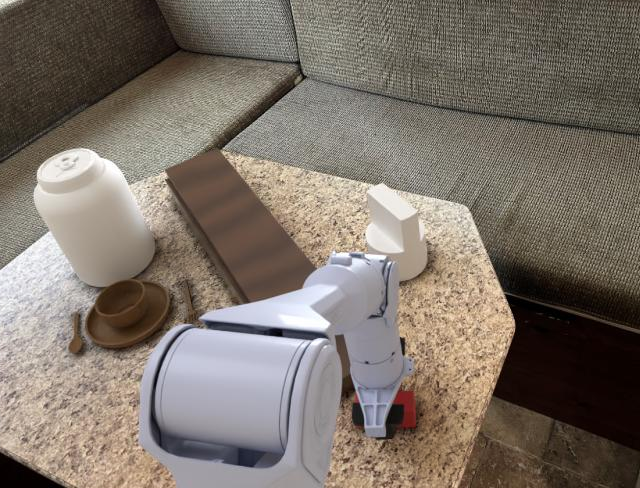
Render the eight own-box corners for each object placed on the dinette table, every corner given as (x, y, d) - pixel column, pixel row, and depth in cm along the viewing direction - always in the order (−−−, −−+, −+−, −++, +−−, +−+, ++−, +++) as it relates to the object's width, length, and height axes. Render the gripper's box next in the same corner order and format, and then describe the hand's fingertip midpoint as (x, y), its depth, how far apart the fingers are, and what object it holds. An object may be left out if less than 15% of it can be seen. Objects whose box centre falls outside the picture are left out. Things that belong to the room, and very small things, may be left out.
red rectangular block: (357, 429, 73) (353, 413, 71) (359, 407, 75) (355, 391, 73) (415, 427, 72) (413, 411, 70) (415, 406, 74) (413, 390, 72)
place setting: (187, 270, 96) (175, 244, 92) (208, 368, 81) (195, 340, 78) (70, 311, 91) (53, 285, 88) (70, 421, 77) (50, 395, 73)
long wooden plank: (384, 368, 79) (379, 337, 75) (309, 416, 75) (299, 386, 71) (230, 174, 115) (220, 146, 111) (172, 198, 111) (161, 170, 107)
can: (73, 253, 101) (16, 157, 89) (148, 224, 106) (104, 128, 93) (83, 301, 93) (21, 202, 80) (165, 267, 97) (117, 168, 84)
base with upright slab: (358, 258, 95) (348, 199, 87) (404, 231, 99) (398, 173, 91) (392, 291, 89) (384, 231, 82) (439, 261, 93) (435, 202, 85)
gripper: (410, 402, 58) (419, 470, 67) (411, 287, 69) (418, 358, 78) (337, 404, 59) (355, 471, 67) (350, 290, 70) (364, 360, 79)
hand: (385, 411), depth 73 cm, fingers open, 6 cm apart
